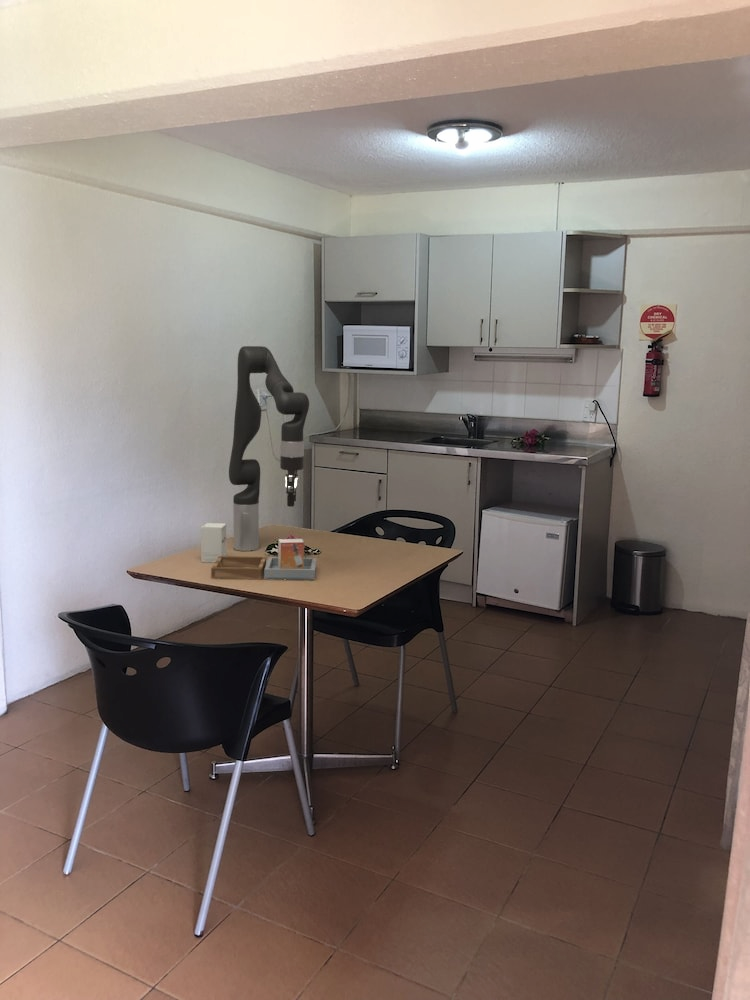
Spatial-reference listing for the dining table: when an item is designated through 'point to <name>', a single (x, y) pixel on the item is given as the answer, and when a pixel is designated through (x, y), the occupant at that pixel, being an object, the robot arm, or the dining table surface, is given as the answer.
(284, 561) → the small box
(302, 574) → the tray
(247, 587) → the dining table surface
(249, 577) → the frame
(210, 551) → the supplement box
